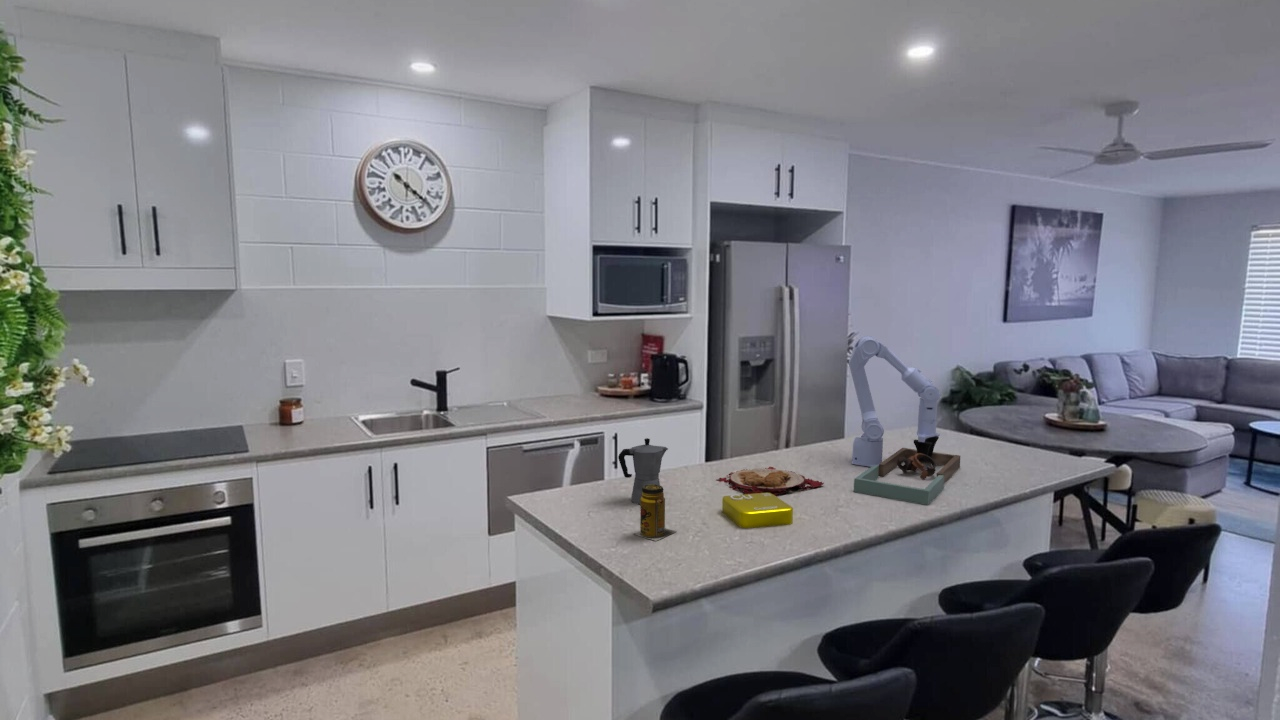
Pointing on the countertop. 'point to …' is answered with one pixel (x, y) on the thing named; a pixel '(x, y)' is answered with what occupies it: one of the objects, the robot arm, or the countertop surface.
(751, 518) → the element tile
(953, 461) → the brown wooden frame
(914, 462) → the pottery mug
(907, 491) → the frame
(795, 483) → the plate with food
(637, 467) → the coffeepot
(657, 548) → the countertop surface
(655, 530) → the condiment
